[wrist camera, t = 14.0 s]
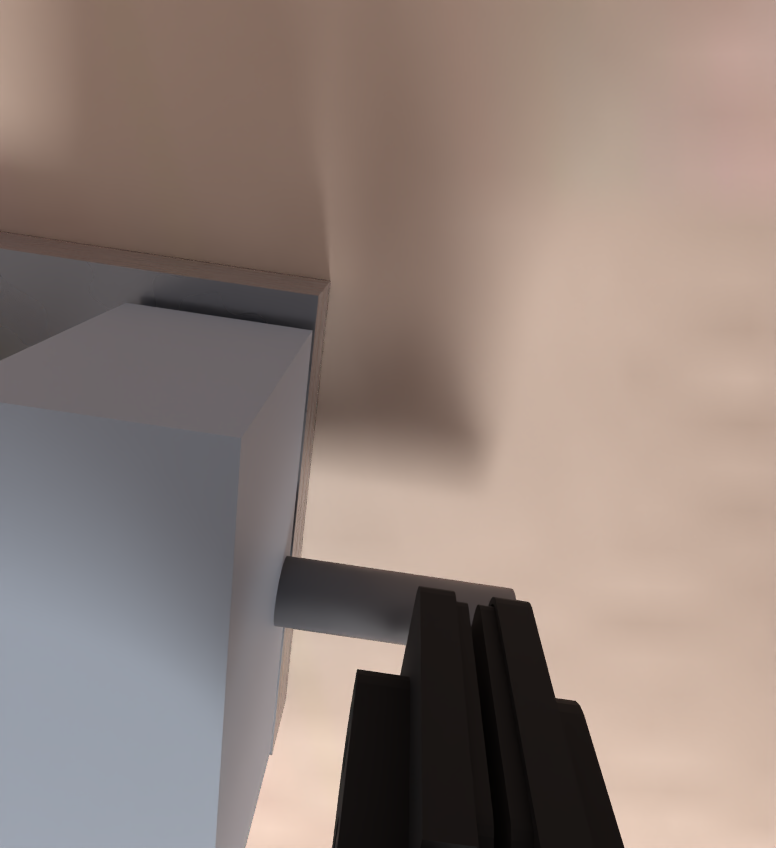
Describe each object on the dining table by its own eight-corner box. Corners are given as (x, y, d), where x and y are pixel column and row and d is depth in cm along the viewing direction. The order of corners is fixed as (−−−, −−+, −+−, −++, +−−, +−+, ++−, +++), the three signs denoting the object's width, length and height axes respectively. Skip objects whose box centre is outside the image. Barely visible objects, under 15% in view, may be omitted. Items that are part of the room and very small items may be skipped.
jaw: (559, 367, 11) (650, 498, 6) (460, 776, 14) (476, 1040, 10) (100, 298, 11) (-110, 386, 6) (109, 725, 14) (-27, 969, 10)
